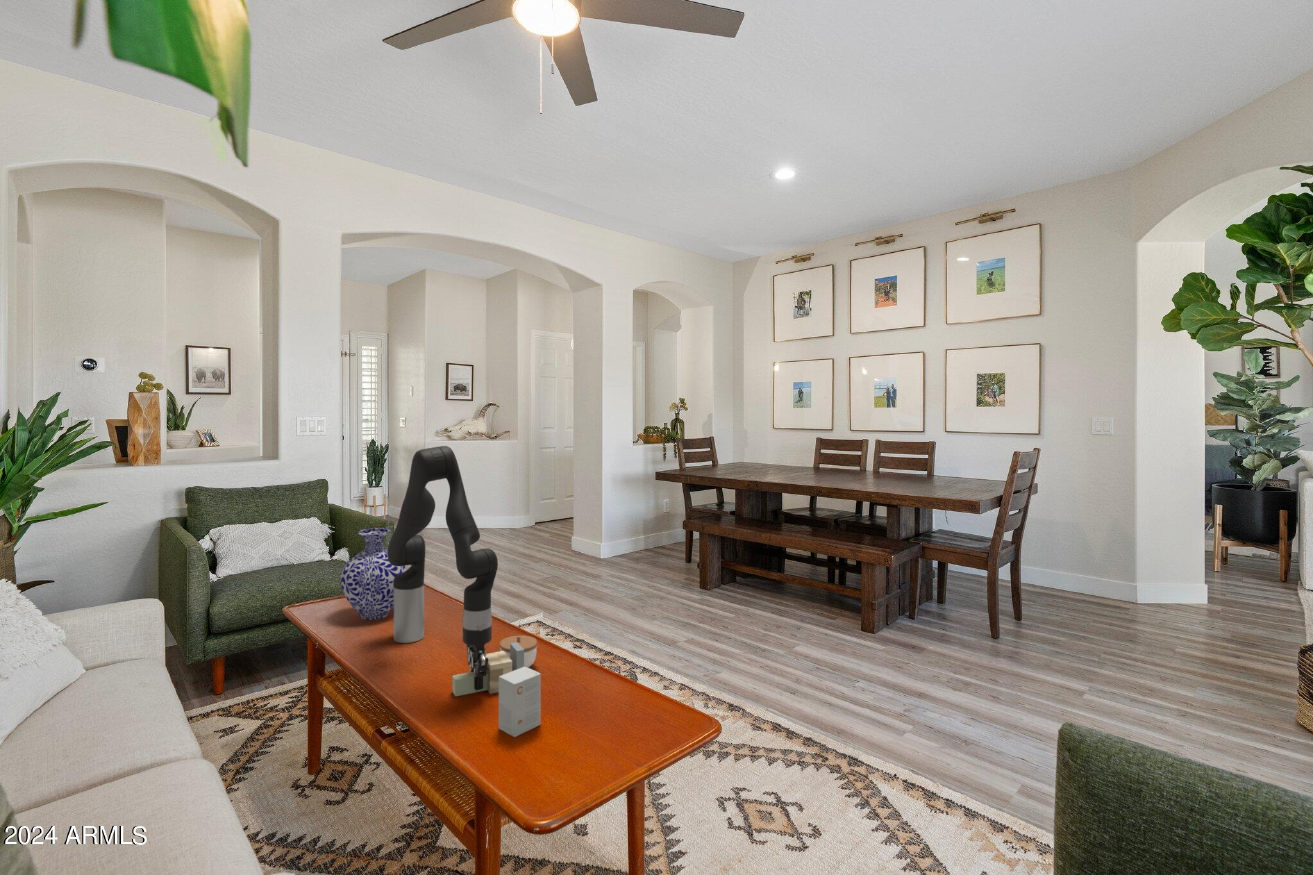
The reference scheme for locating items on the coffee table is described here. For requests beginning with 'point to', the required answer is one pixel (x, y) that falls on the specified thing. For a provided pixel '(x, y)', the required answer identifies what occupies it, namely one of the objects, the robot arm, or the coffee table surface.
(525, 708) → the small box
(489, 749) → the coffee table surface
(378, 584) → the vase
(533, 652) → the lidded jar
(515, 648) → the wall
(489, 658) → the block
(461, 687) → the pale green rectangular bar
